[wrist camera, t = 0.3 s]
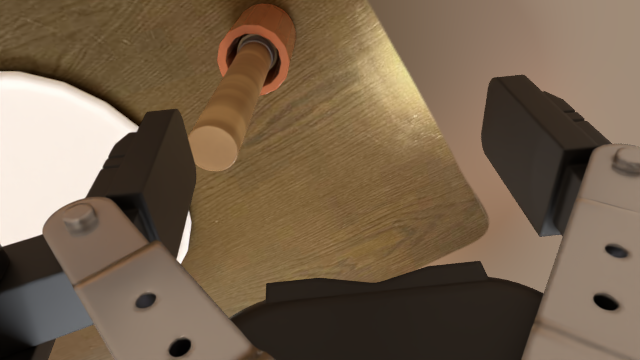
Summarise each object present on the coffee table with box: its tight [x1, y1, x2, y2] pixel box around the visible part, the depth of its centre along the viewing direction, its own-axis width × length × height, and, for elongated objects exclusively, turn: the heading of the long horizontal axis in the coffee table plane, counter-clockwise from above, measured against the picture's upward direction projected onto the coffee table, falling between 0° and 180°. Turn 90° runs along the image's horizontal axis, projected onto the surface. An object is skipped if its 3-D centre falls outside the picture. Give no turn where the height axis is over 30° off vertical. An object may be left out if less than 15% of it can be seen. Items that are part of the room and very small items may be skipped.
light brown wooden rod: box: [188, 34, 279, 171], centre depth 30 cm, size 3×3×20 cm
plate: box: [0, 71, 192, 264], centre depth 48 cm, size 29×29×1 cm
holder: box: [217, 3, 296, 95], centre depth 36 cm, size 5×5×8 cm
